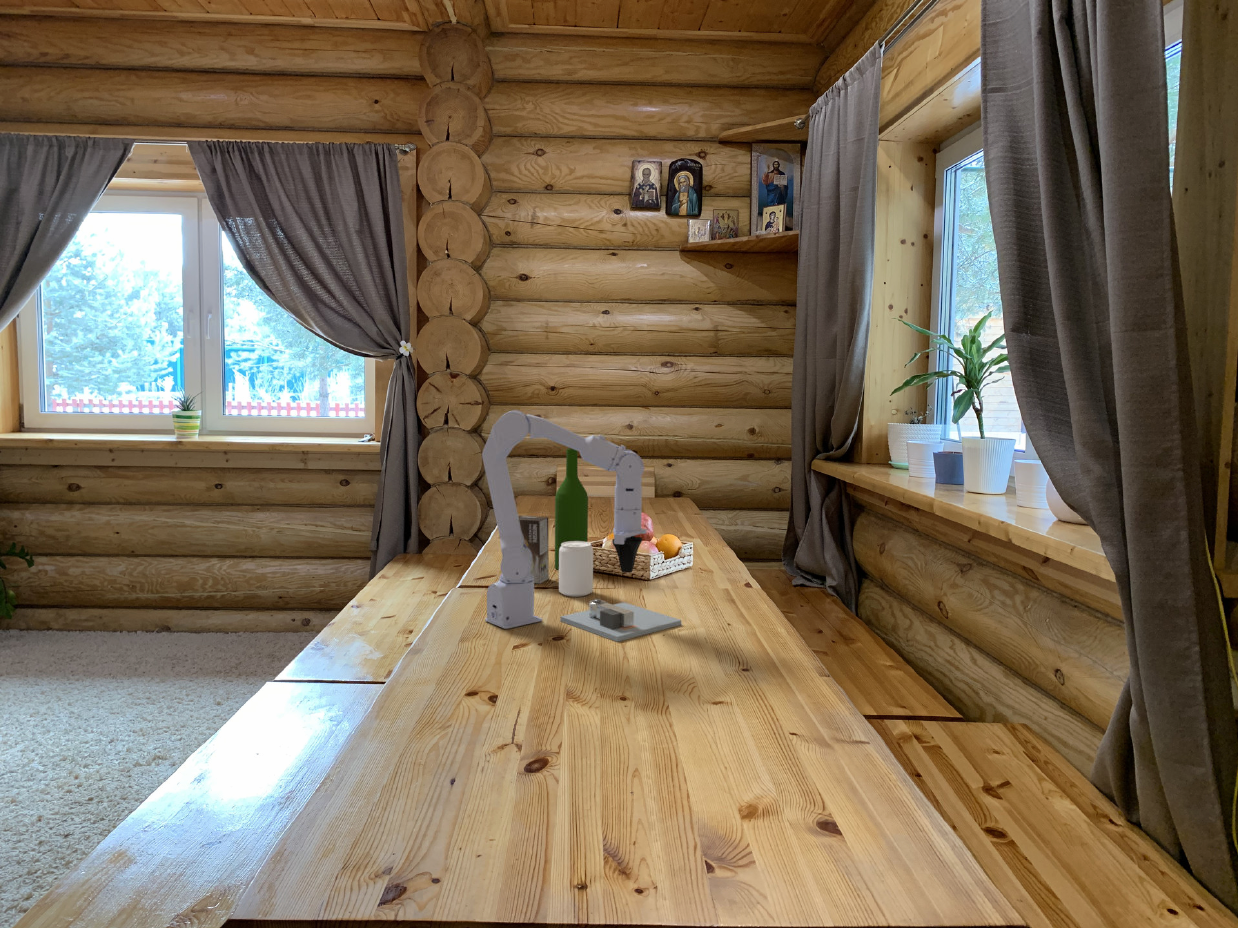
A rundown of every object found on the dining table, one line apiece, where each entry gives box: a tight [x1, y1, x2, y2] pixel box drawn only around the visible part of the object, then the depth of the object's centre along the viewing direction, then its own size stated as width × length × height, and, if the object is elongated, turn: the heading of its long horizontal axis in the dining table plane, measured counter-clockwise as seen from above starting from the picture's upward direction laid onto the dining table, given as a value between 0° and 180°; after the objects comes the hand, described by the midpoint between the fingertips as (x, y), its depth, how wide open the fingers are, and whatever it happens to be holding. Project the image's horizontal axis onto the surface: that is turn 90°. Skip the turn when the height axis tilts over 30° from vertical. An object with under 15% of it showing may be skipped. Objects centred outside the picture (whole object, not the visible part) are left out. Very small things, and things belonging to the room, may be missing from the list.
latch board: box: [559, 602, 682, 643], centre depth 170 cm, size 18×18×4 cm
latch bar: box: [588, 598, 634, 627], centre depth 168 cm, size 12×4×3 cm, turn 41°
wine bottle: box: [554, 448, 589, 571], centre depth 220 cm, size 9×9×32 cm
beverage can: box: [558, 541, 594, 598], centre depth 194 cm, size 8×8×12 cm
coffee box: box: [518, 515, 550, 584], centre depth 206 cm, size 9×6×16 cm
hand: (627, 571), depth 172 cm, fingers closed
